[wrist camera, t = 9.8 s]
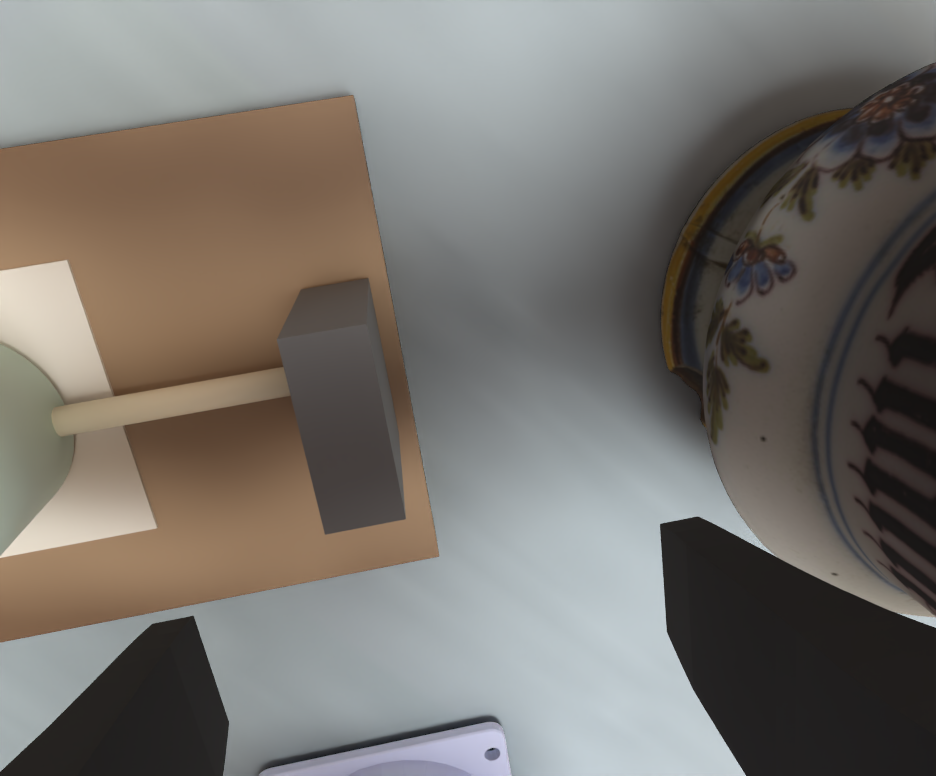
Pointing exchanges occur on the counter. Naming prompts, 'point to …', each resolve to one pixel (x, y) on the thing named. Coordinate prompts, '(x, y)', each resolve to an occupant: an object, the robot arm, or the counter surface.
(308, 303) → the grey-headed mallet
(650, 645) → the counter surface
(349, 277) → the shelf lane
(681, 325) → the dark footed vase
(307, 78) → the counter surface
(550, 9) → the counter surface
